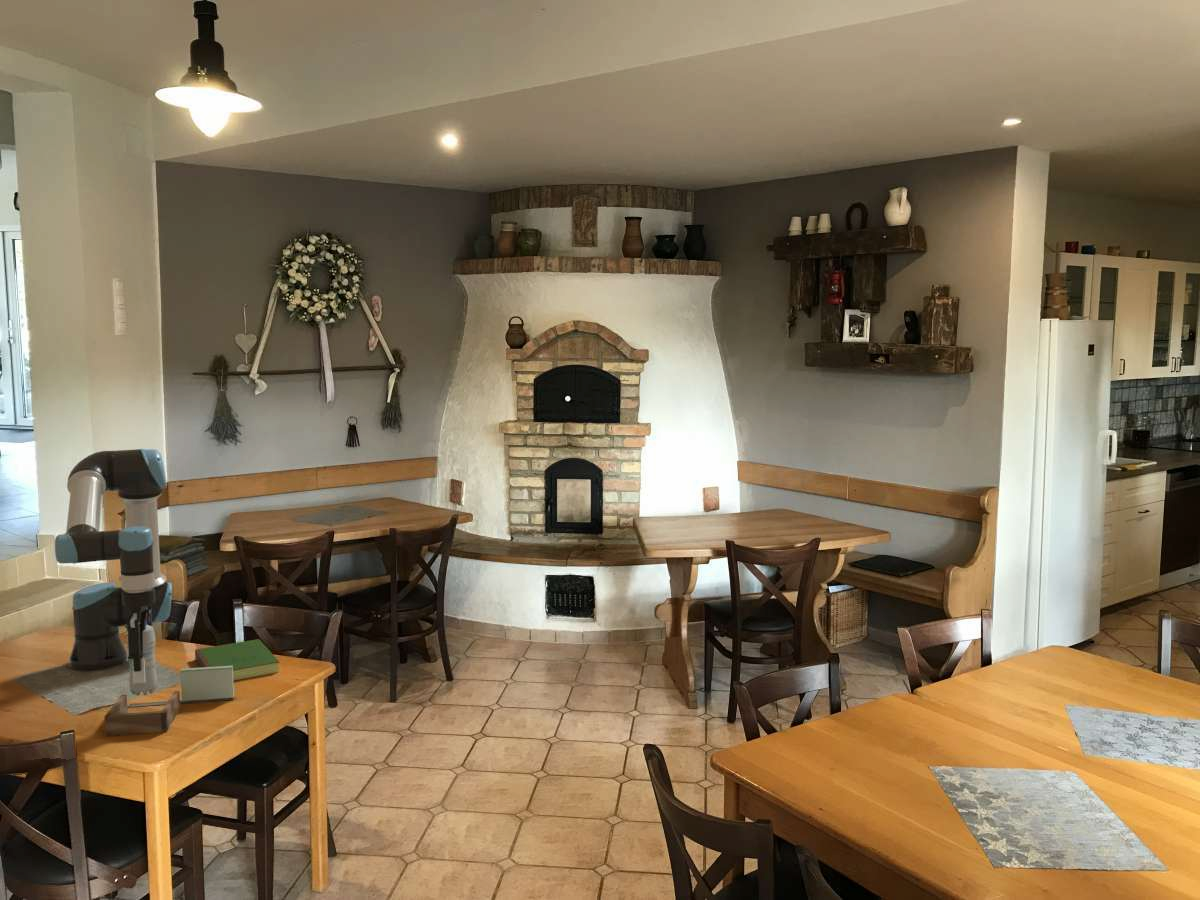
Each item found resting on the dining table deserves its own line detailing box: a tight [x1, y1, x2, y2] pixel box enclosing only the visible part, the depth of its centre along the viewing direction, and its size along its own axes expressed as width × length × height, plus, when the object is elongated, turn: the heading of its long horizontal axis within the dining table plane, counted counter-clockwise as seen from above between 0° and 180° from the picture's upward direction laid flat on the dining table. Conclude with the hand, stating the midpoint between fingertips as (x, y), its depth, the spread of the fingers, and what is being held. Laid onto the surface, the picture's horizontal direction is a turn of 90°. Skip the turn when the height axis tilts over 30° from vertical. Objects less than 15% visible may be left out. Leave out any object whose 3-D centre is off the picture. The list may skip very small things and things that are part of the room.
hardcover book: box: [194, 638, 280, 682], centre depth 279 cm, size 25×19×4 cm
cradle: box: [103, 690, 236, 737], centre depth 242 cm, size 20×27×5 cm
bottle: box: [125, 619, 158, 696], centre depth 237 cm, size 7×7×20 cm
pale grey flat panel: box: [179, 666, 235, 701], centre depth 252 cm, size 1×13×9 cm, turn 102°
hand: (143, 677), depth 238 cm, fingers closed on bottle, 6 cm apart
